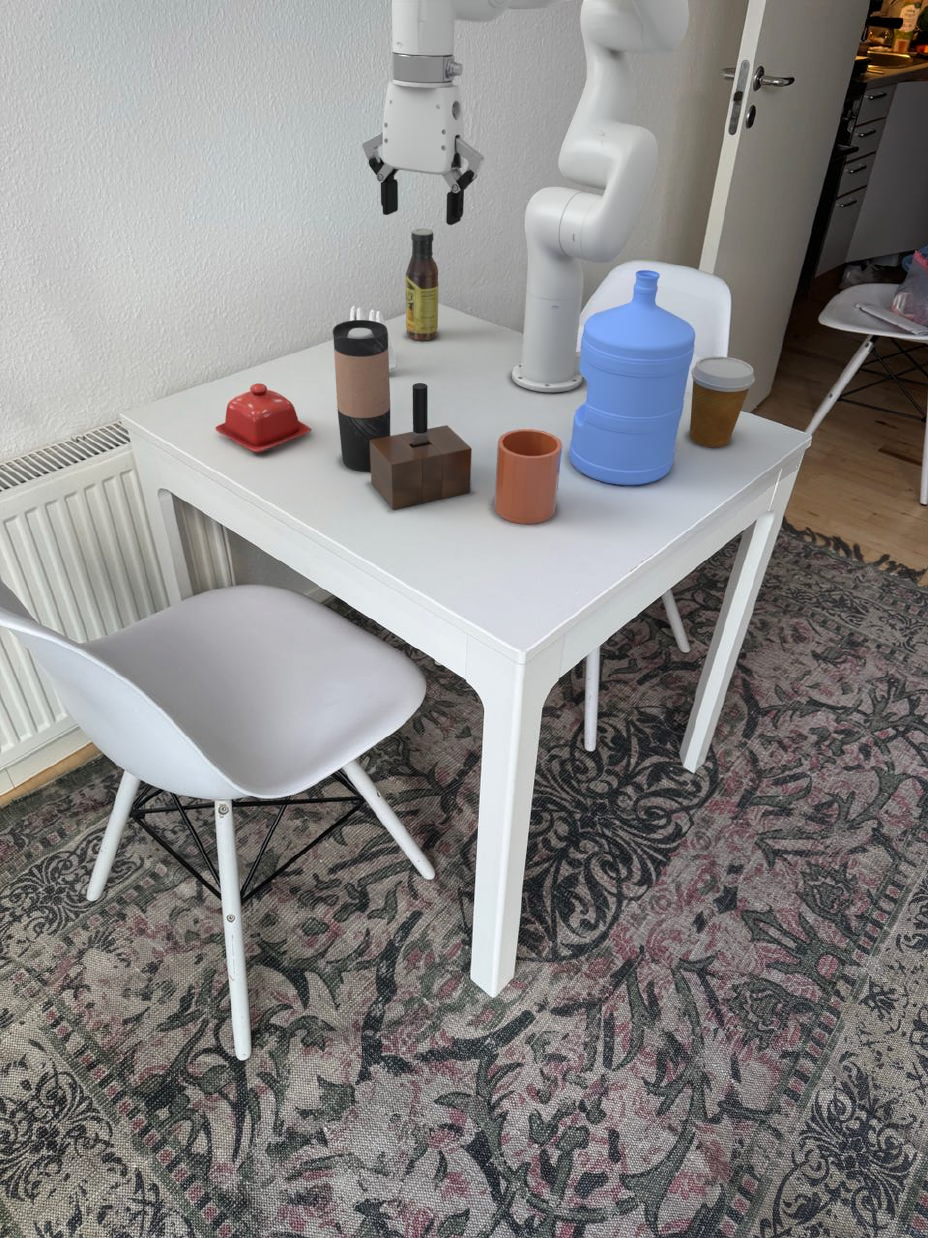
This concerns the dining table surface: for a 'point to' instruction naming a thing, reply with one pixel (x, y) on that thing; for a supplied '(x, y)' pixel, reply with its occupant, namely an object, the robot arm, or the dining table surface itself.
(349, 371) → the travel mug
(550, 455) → the cup
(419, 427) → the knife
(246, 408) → the butter dish
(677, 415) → the water jug
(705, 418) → the disposable coffee cup
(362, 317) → the shaker set
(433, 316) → the sauce bottle
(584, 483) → the dining table surface
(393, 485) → the knife block
